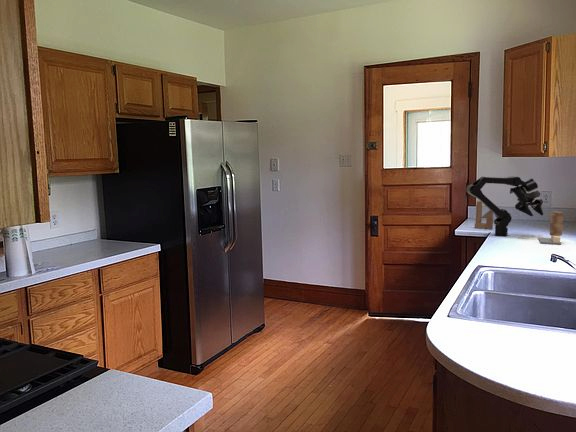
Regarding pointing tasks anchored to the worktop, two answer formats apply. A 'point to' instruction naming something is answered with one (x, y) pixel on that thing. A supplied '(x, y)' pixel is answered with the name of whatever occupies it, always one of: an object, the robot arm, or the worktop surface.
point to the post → (556, 223)
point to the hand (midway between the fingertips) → (537, 215)
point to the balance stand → (550, 240)
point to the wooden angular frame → (479, 216)
